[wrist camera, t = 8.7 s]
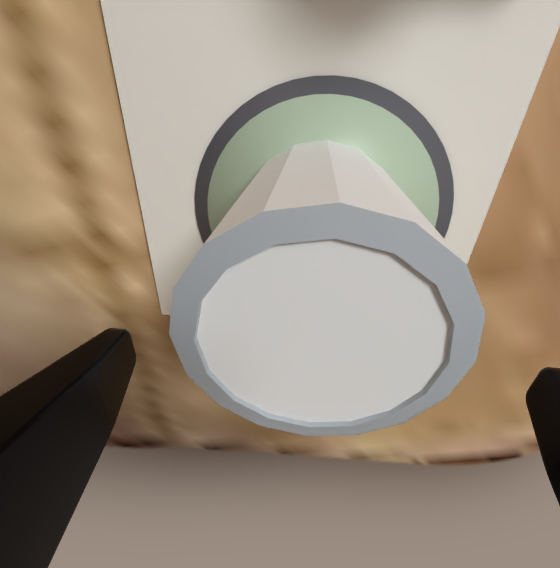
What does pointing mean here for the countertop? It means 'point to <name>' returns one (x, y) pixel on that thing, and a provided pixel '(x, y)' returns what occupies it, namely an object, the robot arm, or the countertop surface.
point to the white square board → (320, 101)
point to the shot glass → (326, 300)
